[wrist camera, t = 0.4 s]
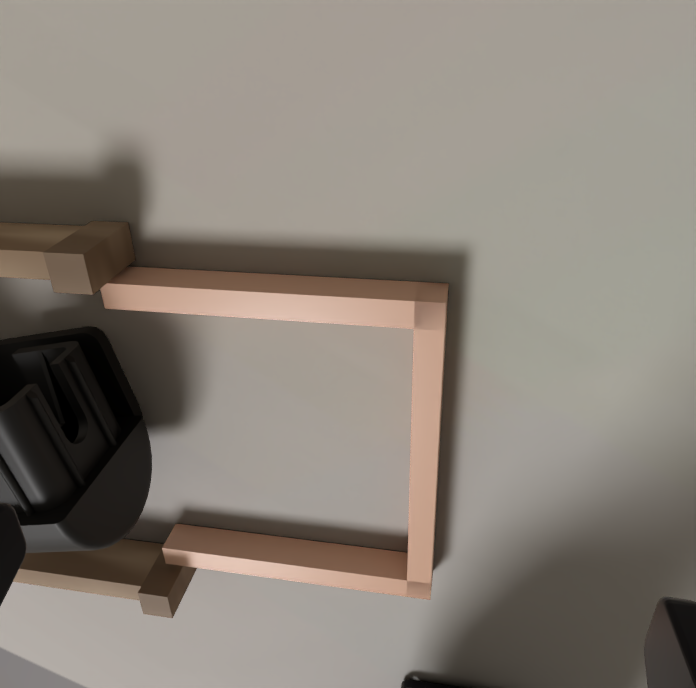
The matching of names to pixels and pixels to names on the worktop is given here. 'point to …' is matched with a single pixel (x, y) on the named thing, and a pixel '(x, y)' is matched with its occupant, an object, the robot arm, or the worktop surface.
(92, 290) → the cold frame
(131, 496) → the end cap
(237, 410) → the worktop surface
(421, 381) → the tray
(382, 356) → the worktop surface
